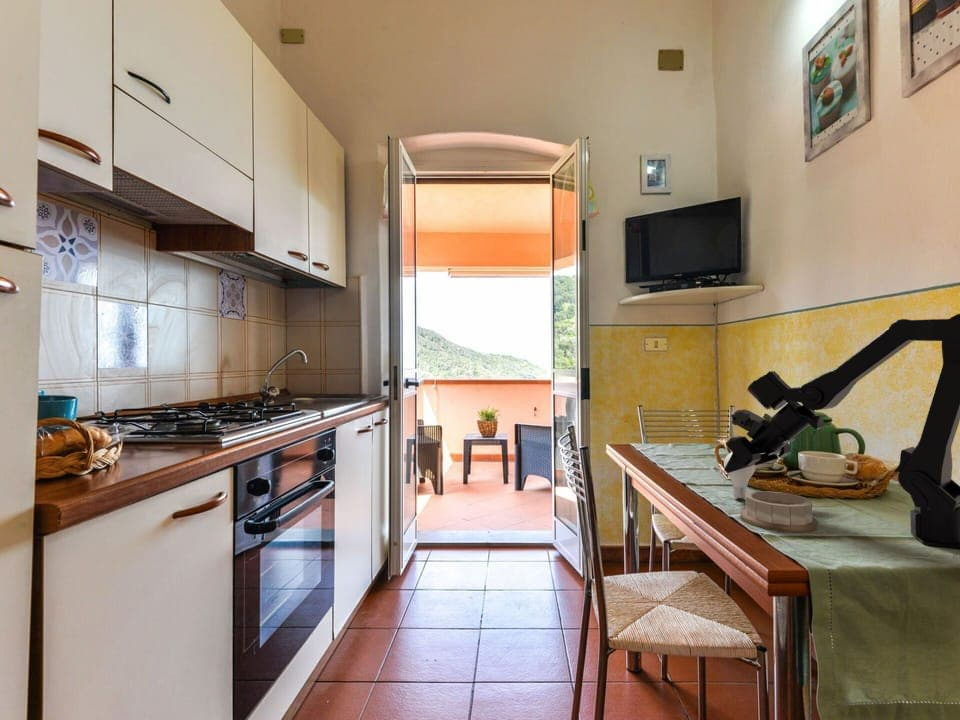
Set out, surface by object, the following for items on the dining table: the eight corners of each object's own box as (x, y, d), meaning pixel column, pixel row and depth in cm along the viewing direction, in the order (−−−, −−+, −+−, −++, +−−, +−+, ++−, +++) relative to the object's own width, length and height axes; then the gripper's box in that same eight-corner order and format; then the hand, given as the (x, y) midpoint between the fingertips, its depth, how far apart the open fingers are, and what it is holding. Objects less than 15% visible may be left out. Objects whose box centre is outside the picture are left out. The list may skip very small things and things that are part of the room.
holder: (811, 516, 101) (811, 493, 101) (824, 536, 89) (823, 510, 89) (739, 508, 106) (738, 487, 106) (742, 526, 95) (741, 503, 95)
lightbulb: (718, 497, 116) (717, 449, 116) (738, 494, 118) (738, 448, 118) (741, 504, 110) (740, 454, 110) (762, 501, 112) (761, 452, 112)
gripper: (775, 396, 116) (729, 438, 125) (734, 400, 106) (687, 445, 114) (814, 433, 110) (763, 475, 119) (774, 441, 99) (721, 486, 108)
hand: (733, 469), depth 115 cm, fingers closed on lightbulb, 6 cm apart
